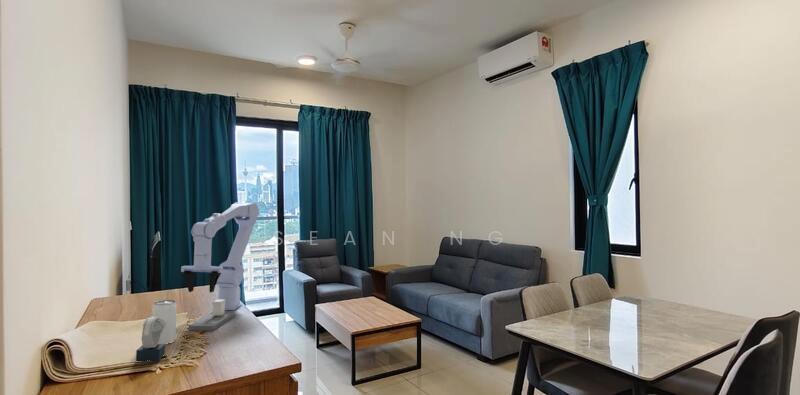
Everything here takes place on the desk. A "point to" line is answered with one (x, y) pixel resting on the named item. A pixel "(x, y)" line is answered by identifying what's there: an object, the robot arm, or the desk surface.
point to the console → (211, 322)
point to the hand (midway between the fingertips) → (201, 291)
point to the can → (166, 319)
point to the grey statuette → (151, 340)
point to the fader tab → (218, 307)
